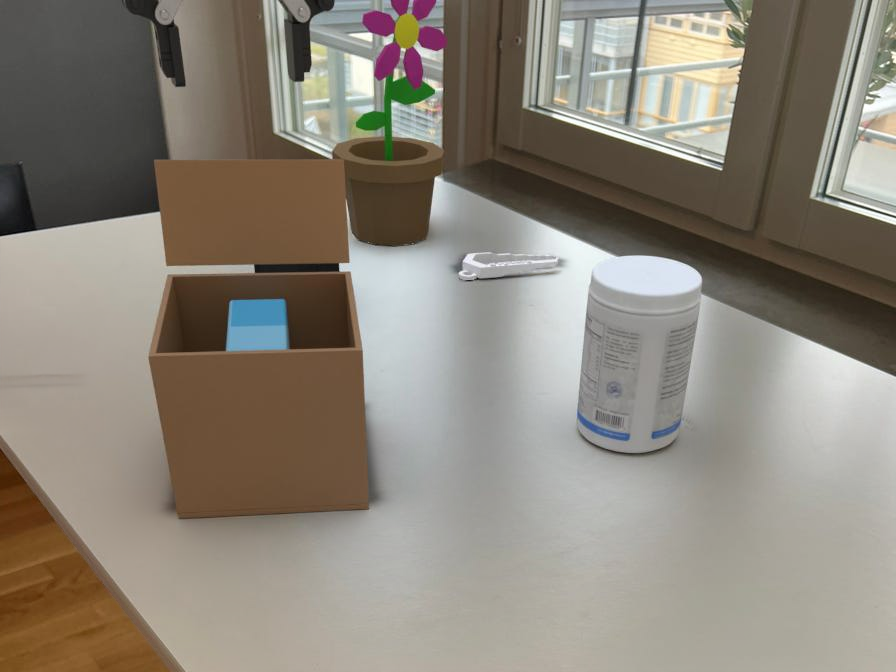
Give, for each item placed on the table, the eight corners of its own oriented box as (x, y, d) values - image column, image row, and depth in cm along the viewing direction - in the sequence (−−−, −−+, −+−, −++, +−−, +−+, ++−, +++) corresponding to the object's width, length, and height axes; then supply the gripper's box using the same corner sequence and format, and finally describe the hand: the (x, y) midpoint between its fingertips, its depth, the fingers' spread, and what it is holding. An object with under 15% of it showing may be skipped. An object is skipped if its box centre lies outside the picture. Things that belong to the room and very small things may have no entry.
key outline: (546, 259, 127) (547, 246, 126) (561, 273, 123) (562, 259, 122) (449, 267, 123) (450, 253, 122) (461, 281, 120) (462, 267, 119)
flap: (153, 159, 78) (154, 160, 79) (166, 265, 81) (167, 266, 81) (343, 159, 80) (343, 160, 81) (349, 262, 83) (349, 263, 83)
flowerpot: (379, 259, 125) (371, -26, 106) (315, 228, 133) (297, -42, 114) (465, 237, 132) (472, -32, 113) (400, 210, 140) (396, -46, 121)
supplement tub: (657, 405, 96) (683, 251, 87) (693, 453, 89) (725, 291, 80) (561, 411, 95) (577, 255, 85) (590, 461, 88) (610, 296, 78)
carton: (178, 518, 78) (147, 356, 69) (191, 423, 90) (167, 274, 81) (369, 509, 80) (362, 349, 72) (357, 416, 92) (350, 271, 84)
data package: (300, 493, 81) (287, 353, 73) (243, 496, 80) (224, 355, 72) (296, 424, 90) (285, 292, 82) (245, 426, 89) (229, 293, 81)
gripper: (304, -207, 66) (319, 69, 77) (80, -220, 62) (129, 75, 72) (336, -206, 61) (348, 89, 71) (94, -220, 56) (144, 98, 67)
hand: (238, 82), depth 72 cm, fingers open, 8 cm apart
